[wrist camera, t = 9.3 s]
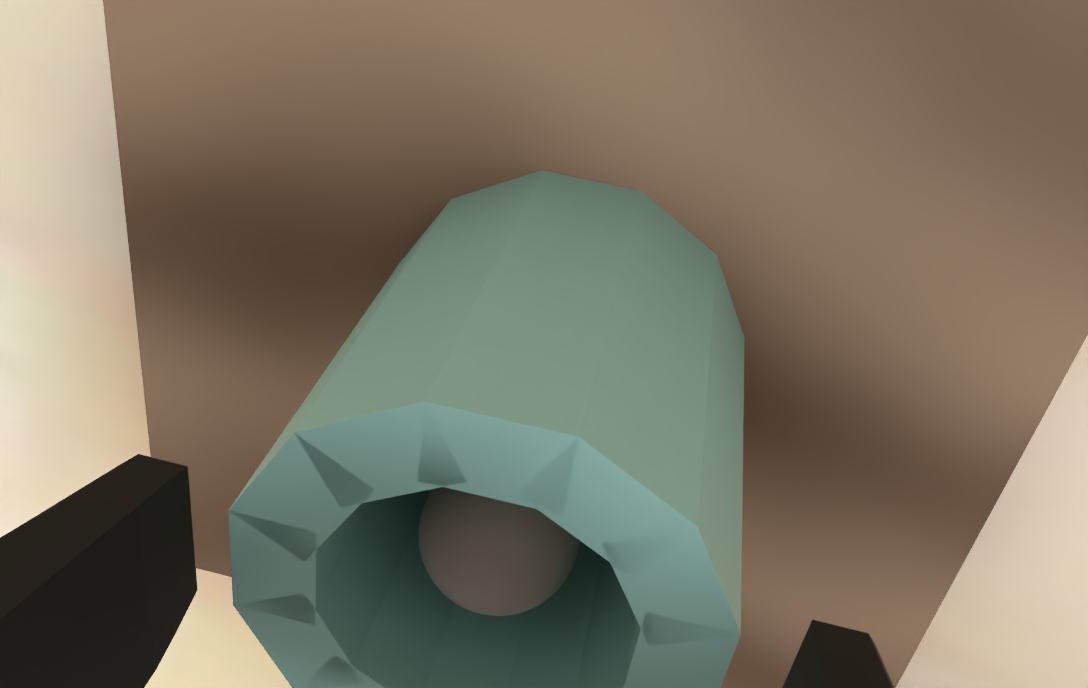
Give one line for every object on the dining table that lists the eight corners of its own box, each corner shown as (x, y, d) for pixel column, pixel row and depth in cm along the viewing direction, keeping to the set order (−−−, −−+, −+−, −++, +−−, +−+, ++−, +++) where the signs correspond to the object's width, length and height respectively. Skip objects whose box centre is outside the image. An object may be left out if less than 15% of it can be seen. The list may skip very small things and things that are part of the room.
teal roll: (693, 505, 17) (668, 825, 12) (388, 434, 17) (239, 714, 12) (780, 219, 14) (796, 487, 9) (407, 142, 14) (219, 354, 9)
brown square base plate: (863, 695, 20) (904, 1048, 14) (185, 527, 21) (-12, 796, 16) (1260, -68, 12) (1694, 86, 6) (118, -275, 13) (-342, -295, 7)
